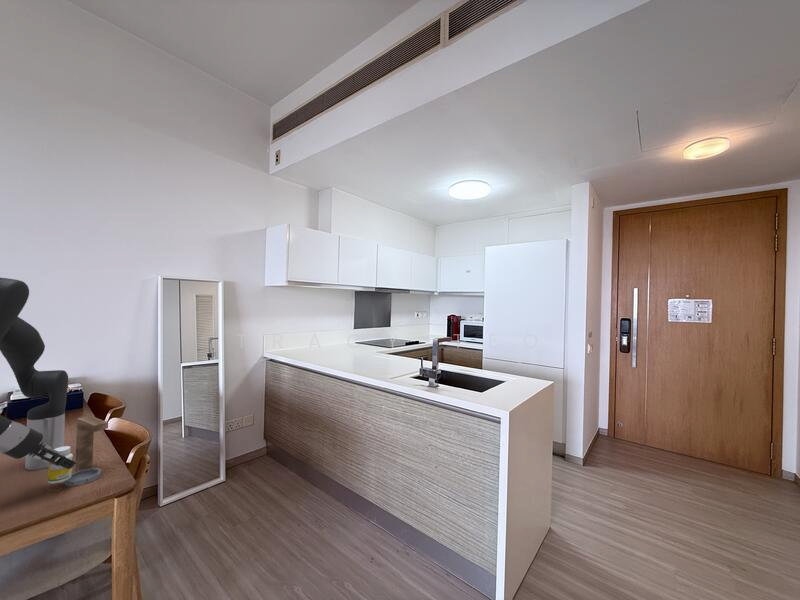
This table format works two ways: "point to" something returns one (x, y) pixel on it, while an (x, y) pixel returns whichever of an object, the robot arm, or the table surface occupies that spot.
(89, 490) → the table surface
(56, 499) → the table surface
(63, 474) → the supplement bottle
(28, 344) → the robot arm
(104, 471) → the table surface
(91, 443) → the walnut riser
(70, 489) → the table surface
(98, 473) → the locator ring
